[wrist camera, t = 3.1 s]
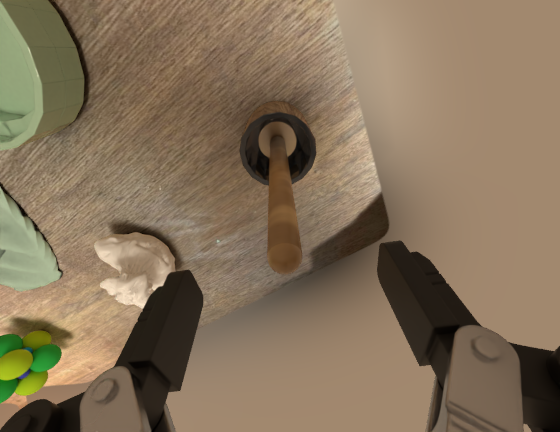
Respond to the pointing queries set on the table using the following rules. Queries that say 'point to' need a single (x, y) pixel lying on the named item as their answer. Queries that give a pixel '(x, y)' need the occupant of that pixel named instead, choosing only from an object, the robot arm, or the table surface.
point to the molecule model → (25, 362)
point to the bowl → (36, 73)
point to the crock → (297, 160)
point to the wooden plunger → (281, 196)
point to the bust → (135, 265)
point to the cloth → (23, 250)
